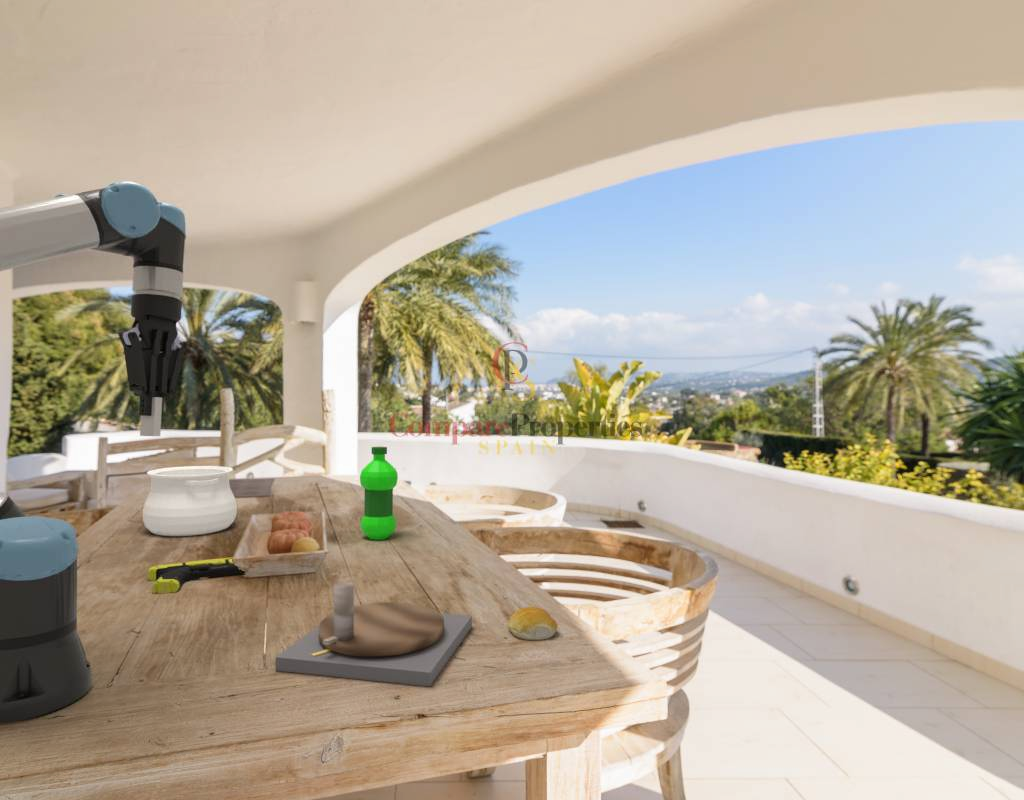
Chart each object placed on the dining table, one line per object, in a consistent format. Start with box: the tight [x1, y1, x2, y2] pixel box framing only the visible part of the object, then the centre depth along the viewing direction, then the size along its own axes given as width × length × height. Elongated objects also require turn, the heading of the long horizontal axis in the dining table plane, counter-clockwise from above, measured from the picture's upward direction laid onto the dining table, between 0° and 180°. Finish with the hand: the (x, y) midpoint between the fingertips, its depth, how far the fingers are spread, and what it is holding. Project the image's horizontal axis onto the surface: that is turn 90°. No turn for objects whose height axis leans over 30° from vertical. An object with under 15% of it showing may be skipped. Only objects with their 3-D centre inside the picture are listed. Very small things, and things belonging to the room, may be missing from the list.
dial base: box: [275, 612, 473, 687], centre depth 109 cm, size 24×24×2 cm
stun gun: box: [147, 556, 246, 595], centre depth 145 cm, size 3×19×15 cm
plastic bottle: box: [359, 446, 398, 541], centre depth 186 cm, size 10×10×25 cm
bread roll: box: [507, 606, 558, 641], centre depth 118 cm, size 8×9×4 cm
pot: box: [142, 465, 238, 537], centre depth 193 cm, size 26×24×17 cm
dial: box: [318, 581, 444, 657], centre depth 109 cm, size 22×20×10 cm
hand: (150, 435), depth 113 cm, fingers closed
